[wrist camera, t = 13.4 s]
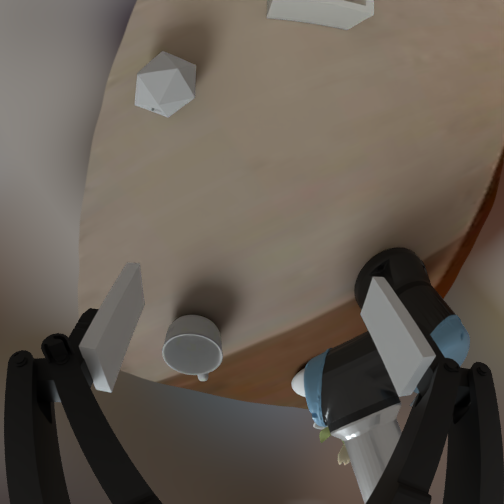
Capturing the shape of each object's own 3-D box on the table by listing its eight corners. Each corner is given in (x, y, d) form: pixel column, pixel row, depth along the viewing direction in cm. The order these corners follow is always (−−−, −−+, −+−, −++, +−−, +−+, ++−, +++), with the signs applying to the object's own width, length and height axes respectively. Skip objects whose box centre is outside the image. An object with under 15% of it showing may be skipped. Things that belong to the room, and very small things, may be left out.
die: (134, 78, 37) (117, 118, 33) (158, 34, 31) (142, 66, 27) (181, 97, 41) (173, 138, 37) (210, 57, 35) (205, 93, 31)
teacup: (165, 305, 55) (157, 334, 48) (223, 307, 55) (221, 336, 48) (174, 355, 61) (169, 384, 54) (224, 357, 62) (223, 386, 55)
